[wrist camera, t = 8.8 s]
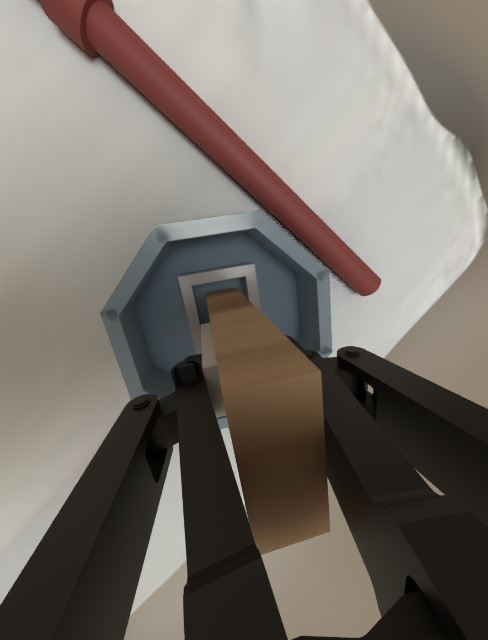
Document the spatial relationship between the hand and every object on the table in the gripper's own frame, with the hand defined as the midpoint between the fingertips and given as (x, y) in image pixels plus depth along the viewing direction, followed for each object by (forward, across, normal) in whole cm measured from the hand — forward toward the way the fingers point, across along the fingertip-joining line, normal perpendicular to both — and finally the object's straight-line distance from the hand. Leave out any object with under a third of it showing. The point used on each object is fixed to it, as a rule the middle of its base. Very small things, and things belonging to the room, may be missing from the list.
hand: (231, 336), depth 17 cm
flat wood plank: (+3, 0, 0) cm, 3 cm away
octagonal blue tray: (+5, 0, 0) cm, 5 cm away
